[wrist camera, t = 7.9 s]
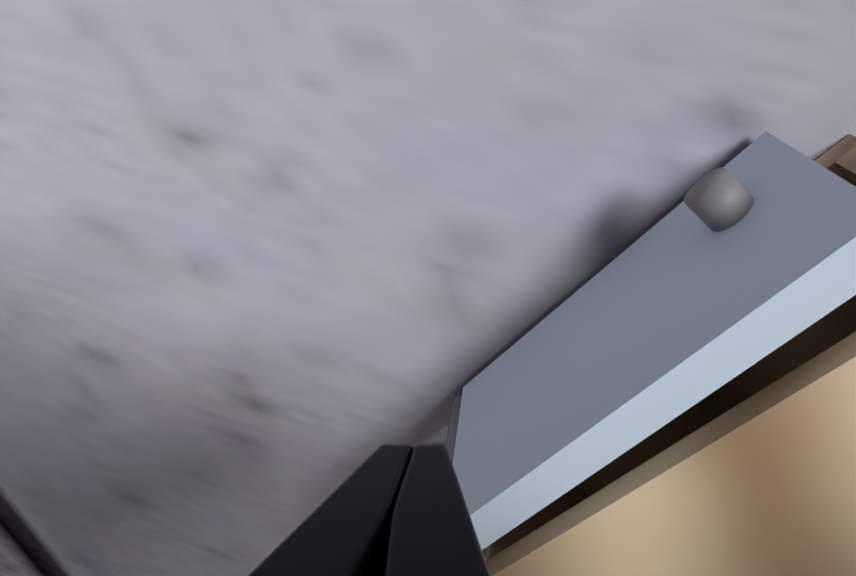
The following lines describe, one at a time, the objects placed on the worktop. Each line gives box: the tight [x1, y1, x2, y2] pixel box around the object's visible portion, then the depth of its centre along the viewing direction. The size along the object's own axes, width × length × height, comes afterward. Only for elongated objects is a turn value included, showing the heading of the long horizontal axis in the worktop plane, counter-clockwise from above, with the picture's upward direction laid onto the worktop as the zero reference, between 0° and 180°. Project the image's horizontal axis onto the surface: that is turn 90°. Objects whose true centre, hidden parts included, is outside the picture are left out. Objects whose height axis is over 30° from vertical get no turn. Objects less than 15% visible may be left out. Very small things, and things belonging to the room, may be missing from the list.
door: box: [446, 132, 856, 550], centre depth 17 cm, size 13×2×7 cm, turn 138°
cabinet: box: [482, 134, 856, 576], centre depth 18 cm, size 14×8×8 cm, turn 136°
